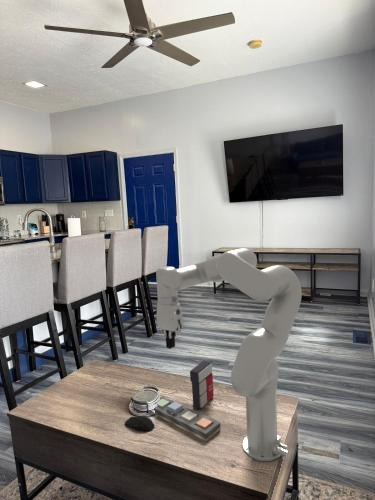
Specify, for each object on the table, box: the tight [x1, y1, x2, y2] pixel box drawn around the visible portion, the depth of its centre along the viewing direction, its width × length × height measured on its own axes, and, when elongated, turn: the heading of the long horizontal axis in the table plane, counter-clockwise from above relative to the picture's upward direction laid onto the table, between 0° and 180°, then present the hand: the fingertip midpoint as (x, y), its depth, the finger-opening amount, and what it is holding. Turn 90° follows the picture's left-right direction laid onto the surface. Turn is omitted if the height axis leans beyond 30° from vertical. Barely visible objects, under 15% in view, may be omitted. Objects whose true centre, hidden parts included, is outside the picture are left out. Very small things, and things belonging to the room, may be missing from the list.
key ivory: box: [181, 411, 197, 422], centre depth 129 cm, size 4×4×2 cm
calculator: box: [189, 360, 214, 410], centre depth 142 cm, size 11×4×15 cm, turn 147°
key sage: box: [157, 399, 170, 409], centre depth 138 cm, size 4×4×2 cm
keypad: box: [154, 396, 222, 442], centre depth 131 cm, size 29×8×3 cm, turn 48°
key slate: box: [167, 401, 184, 415], centre depth 133 cm, size 4×4×2 cm
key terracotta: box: [196, 418, 212, 430], centre depth 124 cm, size 4×4×2 cm
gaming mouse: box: [123, 415, 155, 433], centre depth 129 cm, size 6×15×4 cm, turn 63°
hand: (170, 347), depth 135 cm, fingers closed
